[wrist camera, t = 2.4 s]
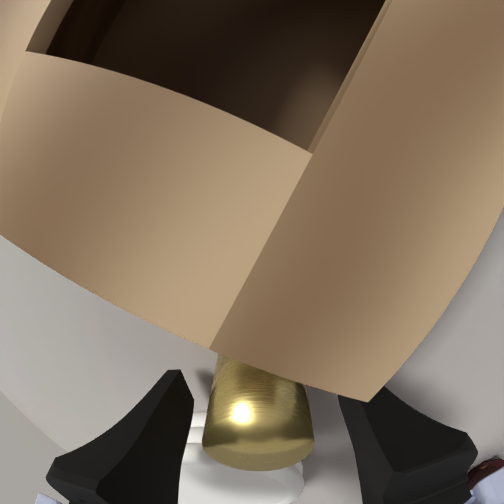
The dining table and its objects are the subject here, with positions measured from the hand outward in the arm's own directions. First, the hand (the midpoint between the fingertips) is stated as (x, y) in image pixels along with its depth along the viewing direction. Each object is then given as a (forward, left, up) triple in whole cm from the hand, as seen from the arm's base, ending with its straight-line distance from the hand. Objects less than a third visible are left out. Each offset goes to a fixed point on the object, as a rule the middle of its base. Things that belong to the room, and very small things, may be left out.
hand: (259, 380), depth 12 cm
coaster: (-2, +9, -2) cm, 9 cm away
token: (0, 0, -2) cm, 2 cm away
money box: (+6, -11, -1) cm, 13 cm away
